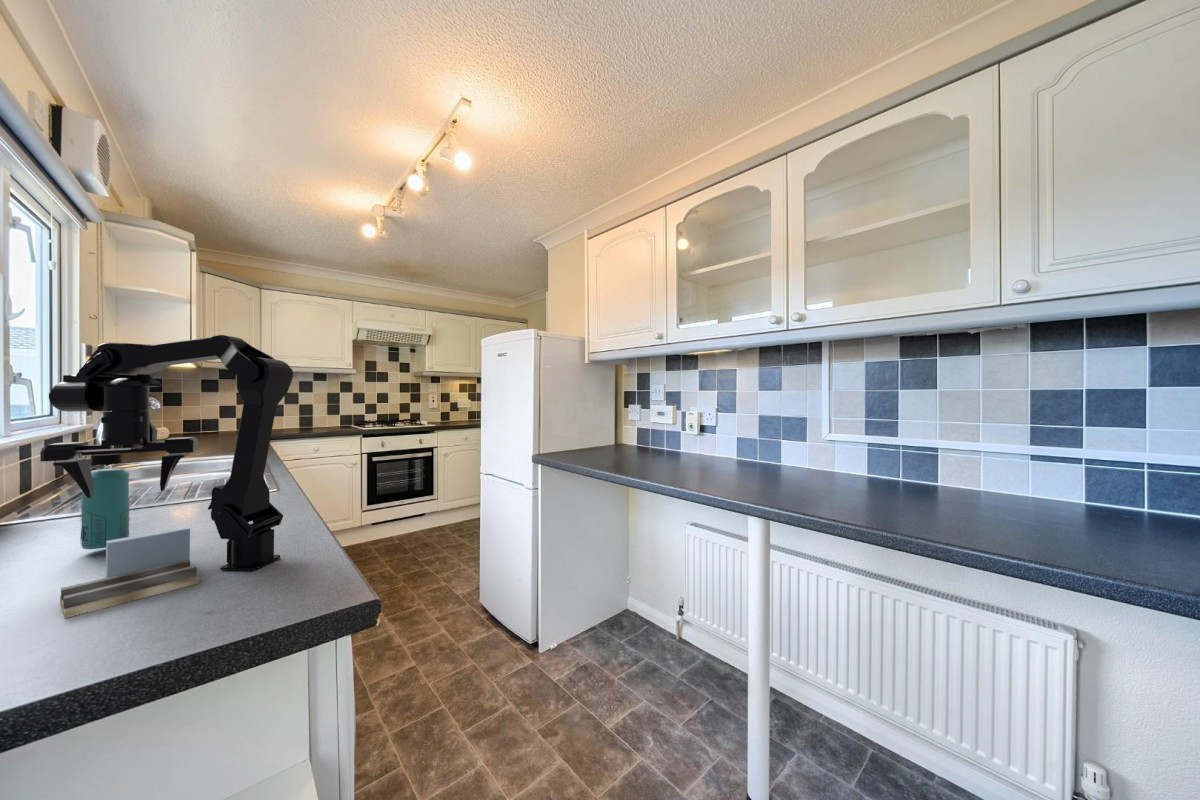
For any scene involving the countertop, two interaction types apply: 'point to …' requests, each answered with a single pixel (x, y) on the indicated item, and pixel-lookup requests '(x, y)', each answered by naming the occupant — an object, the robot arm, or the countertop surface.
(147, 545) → the door panel
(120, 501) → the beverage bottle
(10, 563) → the countertop surface
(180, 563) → the door track
